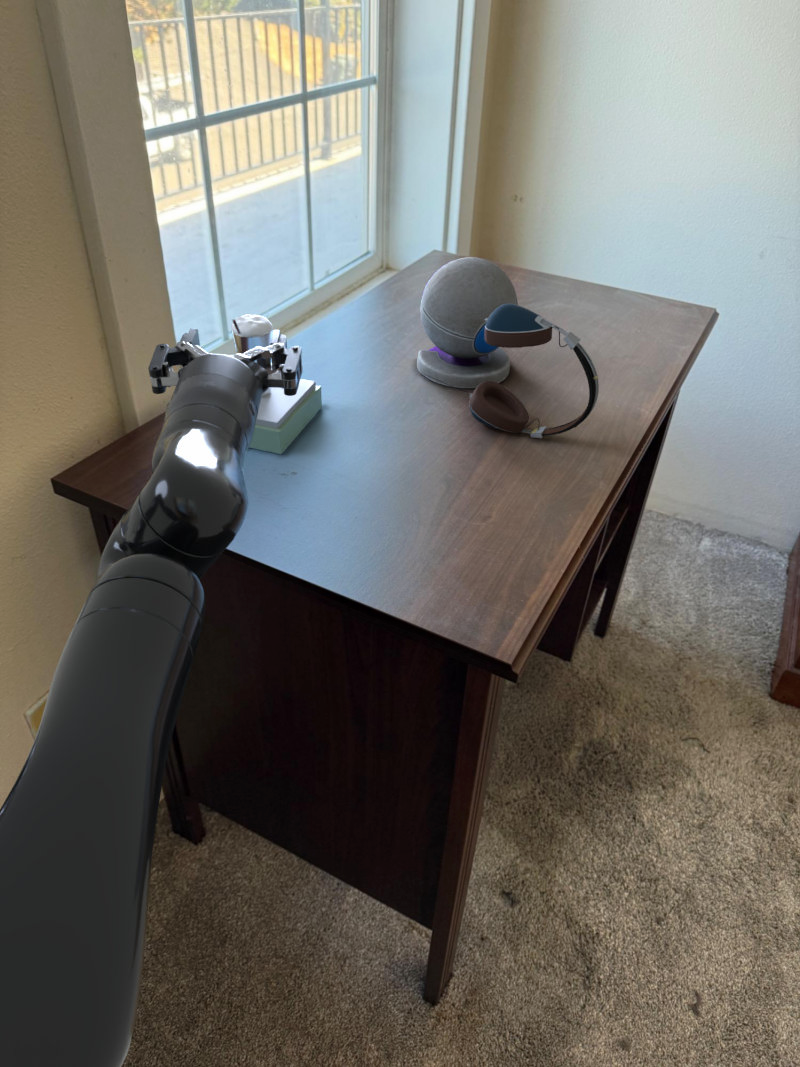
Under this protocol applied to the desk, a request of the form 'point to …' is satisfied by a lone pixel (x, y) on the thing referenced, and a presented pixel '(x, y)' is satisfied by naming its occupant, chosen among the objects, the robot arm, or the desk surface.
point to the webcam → (464, 323)
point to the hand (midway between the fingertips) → (237, 337)
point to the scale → (285, 416)
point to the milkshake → (251, 334)
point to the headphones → (499, 403)
